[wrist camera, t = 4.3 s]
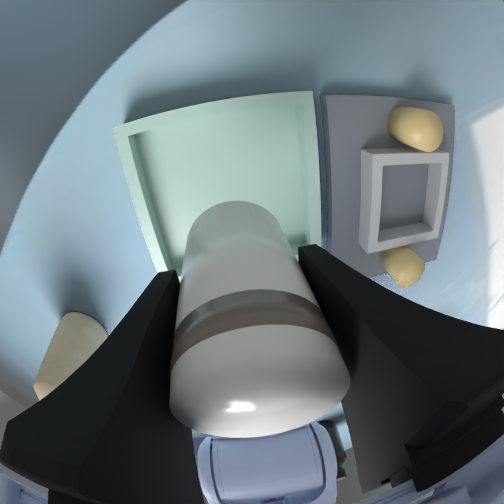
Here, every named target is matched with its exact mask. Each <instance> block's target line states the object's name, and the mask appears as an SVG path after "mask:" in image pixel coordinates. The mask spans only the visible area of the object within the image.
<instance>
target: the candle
mask: <svg viewBox="0 0 504 504" xmlns="http://www.w3.org/2000/svg"><path fill="white" fill-rule="evenodd" d="M107 337H108V336H107V333H106V331H105V329H104V328H103V326H102V325H101V324H100V323H99V322H97V321H96V320H95V319H93V318H92V317H90V316H88V315H86V314H83V313H79V312H70V313H67V314H65V315H64V316H63V318H62V319H61V321H60V323H59V325H58V327H57V329H56V331H55V333H54V336H53V338H52V340H51V342H50V345H49V347H48V349H47V352H46V354H45V356H44V359H43V361H42V364H41V366H40V369H39V372H38V374H37V377H36V380H35V382H34V389H35V392H36V394H37V396H38V398H39V400H41V399H43V398H44V397H45V396H46V395H48V394H49V393H50V392H52V391H53V390H54V389H55V388H57V387H58V386H59V385H60V384H61V383H63V382H64V381H65V380H66V379H67V378H68V377H69V376H70V375H71V374H72V373H73V372H74V371H76V370H77V369H78V368H79V367H80V366H81V365H82V364H83V363H84V362H85V361H86V360H87V359H88V358H89V357H90V356H91V355H92V354H93V353H94V352H95V351H96V350H97V349H98V348H99V346H100V345H101V344H102V343H103V342H104V341H105V340H106V339H107Z"/></svg>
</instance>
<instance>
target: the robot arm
mask: <svg viewBox="0 0 504 504" xmlns="http://www.w3.org/2000/svg"><path fill="white" fill-rule="evenodd" d="M298 262H299V264H300V267H301V269H302V271H303V273H304V275H305V277H306V279H307V281H308V283H309V285H310V288H311V290H312V292H313V294H314V296H315V298H316V300H317V303H318V305H319V307H320V309H321V311H322V312H323V314H324V316H325V317H326V319H327V321H328V324H329V326H330V328H331V330H332V332H333V335H334V337H335V339H336V341H337V343H338V346H339V348H340V351H341V356H342V358H343V360H344V363H345V365H346V367H347V370H348V372H349V375H350V386H349V389H348V391H347V393H346V395H345V396H344V398H343V399H342V400H341V403H342V406H343V410H344V414H345V417H346V421H347V425H348V428H349V433H350V437H351V441H352V445H353V449H354V454H355V458H356V464H357V469H358V475H359V481H360V485H361V488H362V492H363V494H364V493H367V492H370V491H372V490H375V489H377V488H380V487H382V486H385V485H387V484H389V483H391V485H392V489H390V490H387V491H385V492H383V493H380V494H378V495H375V496H373V497H370V498H367V499H365V500H362V501H359V502H356V503H353V504H408V503H410V502H412V501H414V500H416V499H417V498H419V497H421V496H423V495H425V494H427V493H429V492H430V491H432V490H434V489H435V490H434V493H433V495H432V496H430V497H427V498H425V499H422V500H420V501H417V502H415V503H413V504H504V413H503V411H502V408H503V407H504V399H503V397H502V394H503V393H504V330H501V329H496V328H491V327H486V326H481V325H477V324H474V323H470V322H467V321H463V320H460V319H457V318H454V317H451V316H447V315H445V314H442V313H439V312H437V311H434V310H432V309H429V308H426V307H424V306H422V305H419V304H417V303H415V302H413V301H411V300H408V299H406V298H404V297H402V296H400V295H398V294H396V293H394V292H392V291H390V290H388V289H386V288H385V287H383V286H381V285H379V284H378V283H376V282H374V281H372V280H371V279H369V278H367V277H366V276H364V275H362V274H361V273H359V272H358V271H356V270H355V269H353V268H351V267H350V266H348V265H347V264H345V263H344V262H342V261H341V260H339V259H338V258H336V257H335V256H333V255H332V254H330V253H329V252H327V251H326V250H324V249H323V248H321V247H320V246H318V245H317V244H312V245H306V246H301V247H298ZM179 290H180V281H179V278H178V275H177V272H176V269H174V270H169V271H163V272H158V274H157V275H156V276H155V277H154V278H153V280H152V281H151V282H150V284H149V285H148V286H147V287H146V289H145V290H144V292H143V293H142V294H141V296H140V297H139V298H138V299H137V301H136V302H135V303H134V305H133V306H132V307H131V309H130V310H129V311H128V313H127V314H126V315H125V316H124V318H123V319H122V320H121V321H120V323H119V324H118V325H117V326H116V328H115V329H114V330H113V331H112V333H111V334H110V335H109V336H108V337H107V339H106V340H105V341H104V342H103V343H102V344H101V345H100V346H99V348H98V349H97V350H96V351H95V352H94V353H93V354H92V355H91V356H90V357H89V358H88V359H87V360H86V361H85V362H84V363H83V364H82V365H81V366H80V367H79V368H78V369H77V370H76V371H74V372H73V373H72V374H71V375H70V376H69V377H68V378H67V379H66V380H65V381H64V382H63V383H61V384H60V385H59V386H58V387H57V388H55V389H54V390H53V391H52V392H50V393H49V394H48V395H46V396H45V397H44V398H43V399H41V400H40V401H39V402H37V403H36V404H34V405H33V406H32V407H30V408H28V409H27V410H25V411H24V412H22V413H21V414H19V415H18V416H16V417H15V418H13V419H11V420H10V421H8V422H7V425H6V429H5V433H4V437H3V441H2V445H1V450H0V462H1V463H2V464H3V465H4V466H6V467H7V468H9V469H11V470H12V471H14V472H16V473H18V474H20V475H21V476H23V477H25V478H27V479H29V480H31V481H33V482H35V483H37V484H39V485H41V486H44V487H46V488H48V489H49V492H48V495H45V494H43V493H41V492H38V491H36V490H34V489H32V488H30V487H27V486H25V485H23V484H21V483H19V482H17V481H15V480H14V479H12V478H10V477H8V476H6V475H4V474H3V473H0V504H204V500H203V496H202V491H201V487H202V490H203V493H204V495H205V497H206V498H207V500H208V503H209V504H335V502H336V499H335V498H336V496H337V488H336V477H337V461H336V455H335V451H334V447H333V444H332V441H331V438H330V436H329V434H328V432H327V430H326V429H325V428H324V427H323V426H321V425H320V424H319V423H317V422H315V421H314V422H310V423H308V424H306V425H303V426H301V427H298V428H295V429H292V430H289V431H286V432H282V433H278V434H273V435H268V436H261V437H250V438H230V437H220V436H214V435H213V437H206V438H205V439H204V441H203V442H202V443H201V444H200V446H199V450H198V472H199V478H198V472H197V466H196V460H195V454H194V447H193V440H192V430H191V428H189V427H187V426H186V425H184V424H182V423H181V422H180V421H178V420H177V419H176V418H175V416H174V415H173V414H172V412H171V410H170V406H169V400H170V365H171V353H172V343H173V337H174V334H175V324H176V315H177V306H178V298H179ZM199 479H200V482H199ZM200 483H201V487H200Z"/></svg>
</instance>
